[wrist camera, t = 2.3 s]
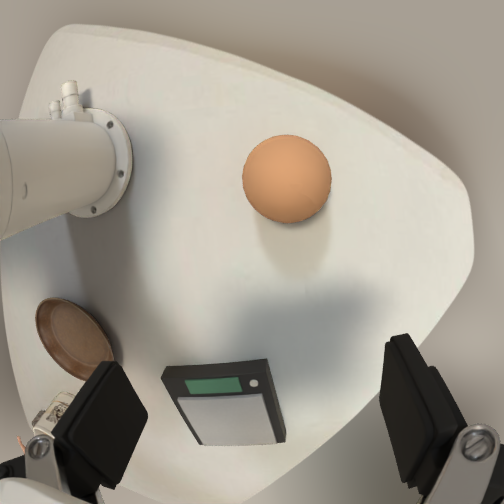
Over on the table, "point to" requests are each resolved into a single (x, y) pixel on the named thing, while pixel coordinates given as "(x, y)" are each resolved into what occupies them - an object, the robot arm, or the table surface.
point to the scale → (227, 402)
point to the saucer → (72, 337)
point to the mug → (53, 414)
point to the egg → (286, 178)
